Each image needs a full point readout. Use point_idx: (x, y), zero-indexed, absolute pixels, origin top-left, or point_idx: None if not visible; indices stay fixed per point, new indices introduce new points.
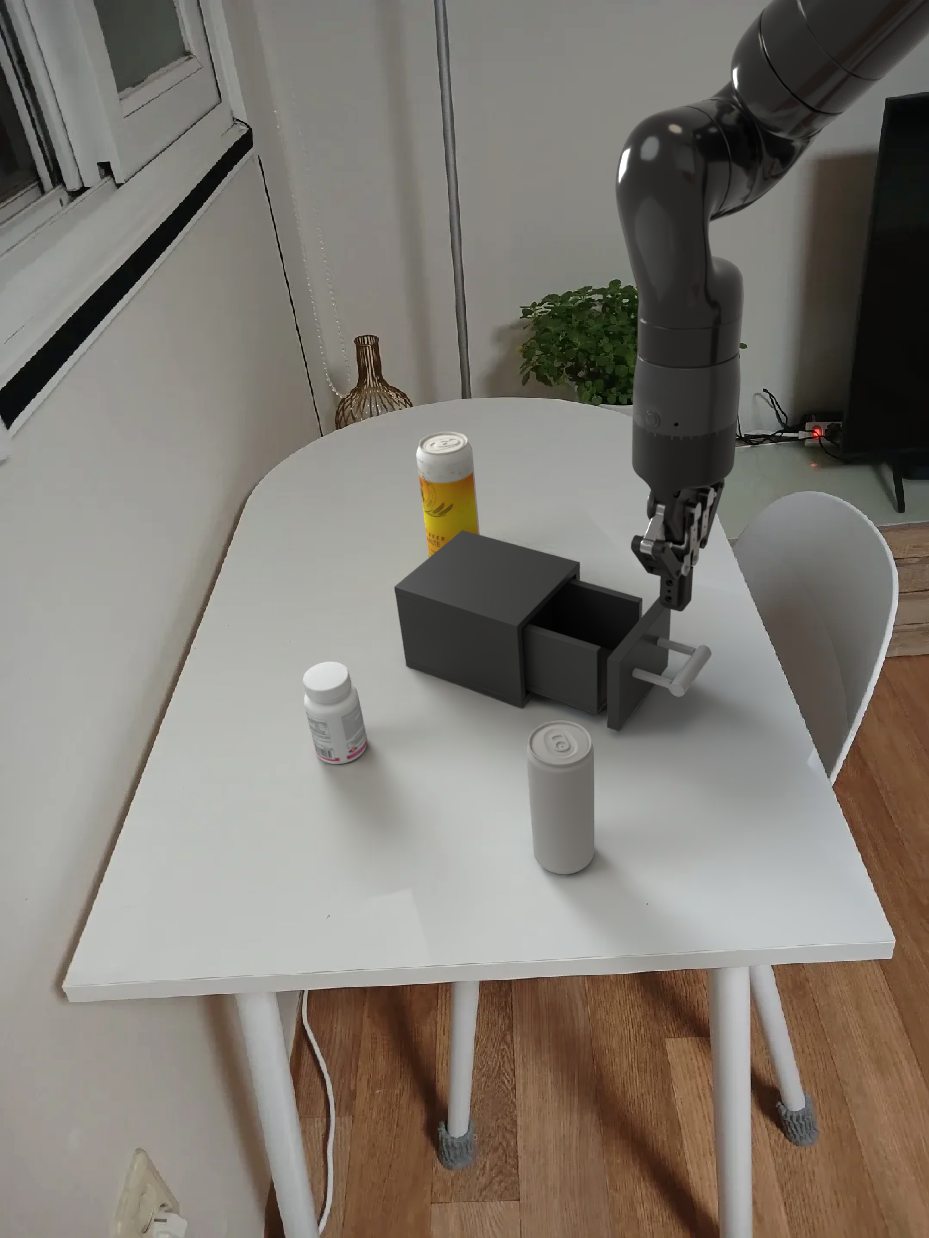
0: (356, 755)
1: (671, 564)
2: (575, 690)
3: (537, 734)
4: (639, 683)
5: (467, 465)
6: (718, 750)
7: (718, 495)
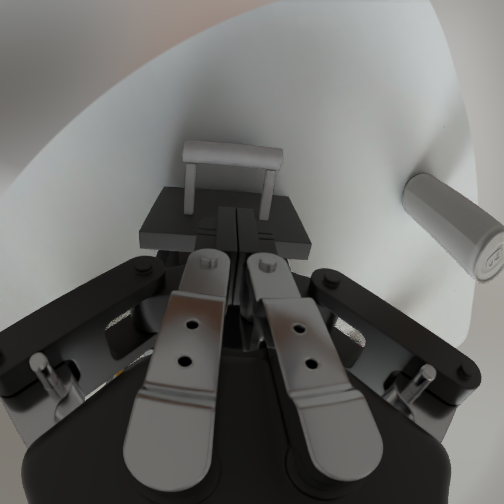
0: (356, 342)
1: (394, 319)
2: None
3: (484, 278)
4: (242, 203)
5: None
6: (266, 95)
7: (21, 340)
